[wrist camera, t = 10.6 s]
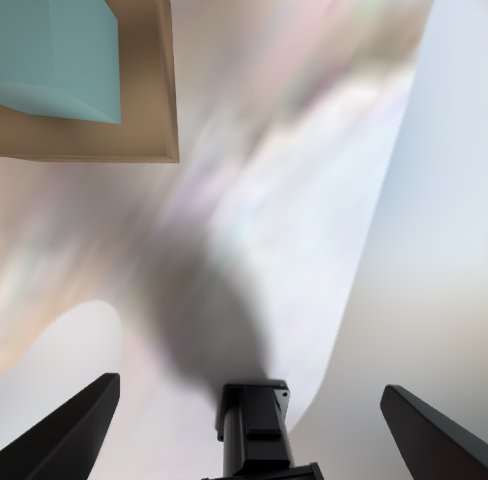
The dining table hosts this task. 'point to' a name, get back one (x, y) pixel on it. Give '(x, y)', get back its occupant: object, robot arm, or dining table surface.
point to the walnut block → (131, 98)
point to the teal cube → (60, 59)
